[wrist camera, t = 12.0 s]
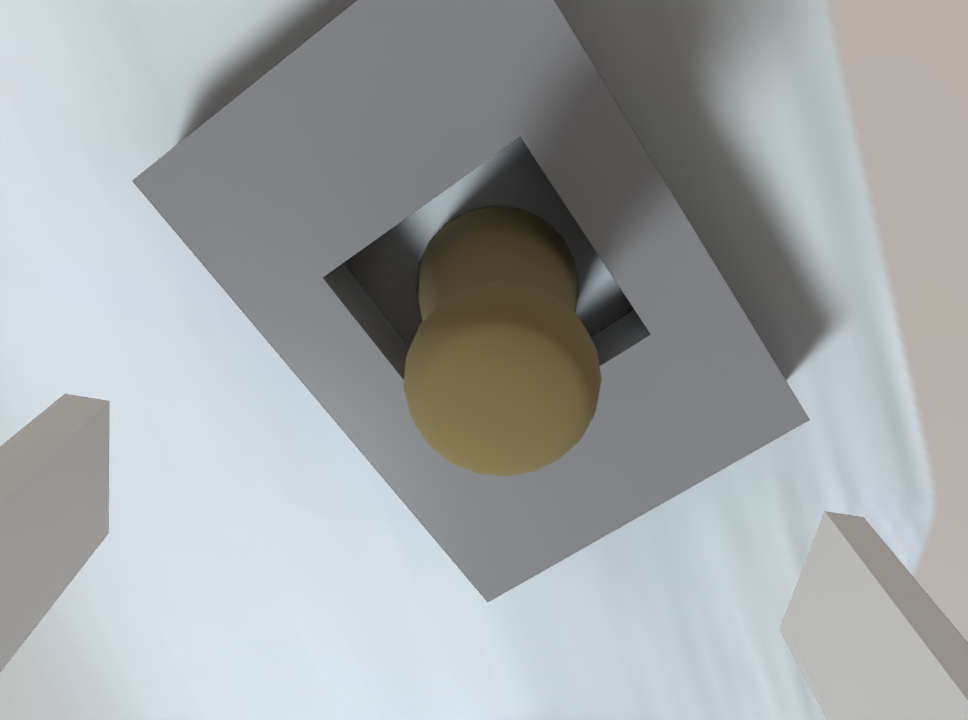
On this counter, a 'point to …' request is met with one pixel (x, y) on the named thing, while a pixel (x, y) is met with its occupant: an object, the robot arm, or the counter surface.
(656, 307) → the dock board
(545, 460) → the cork
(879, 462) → the counter surface
